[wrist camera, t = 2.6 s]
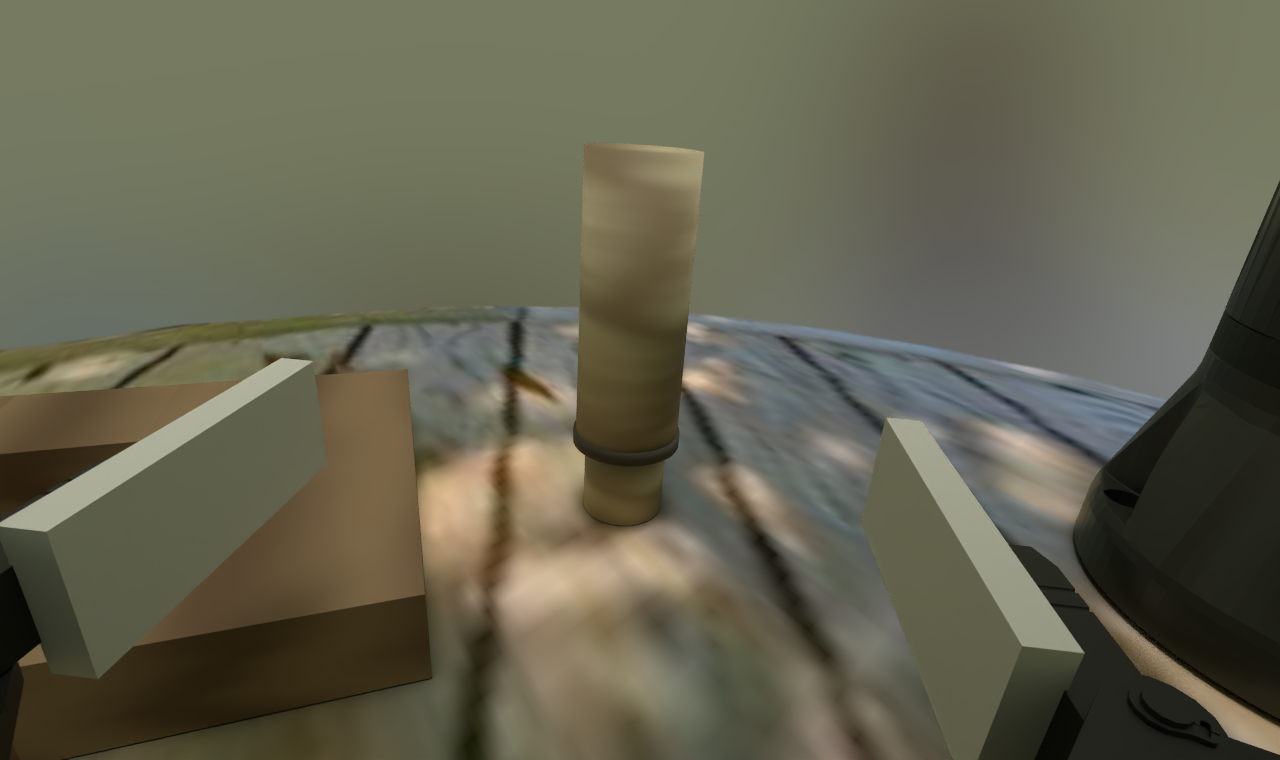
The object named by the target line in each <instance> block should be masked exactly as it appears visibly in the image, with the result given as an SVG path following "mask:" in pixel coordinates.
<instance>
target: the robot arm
mask: <svg viewBox="0 0 1280 760" xmlns="http://www.w3.org/2000/svg"><path fill="white" fill-rule="evenodd" d="M326 465H327V457H326V450H325V443H324V436H323V429H322V421H321V414H320V407H319V400H318V393H317V385H316V378H315V371H314V364H313V361H305V360H295V359H285V358H281V359H279V360H277V361H276V362H274V363H272V364H271V365H269V366H267V367H266V368H264V369H262V370H260V371H259V372H257V373H255V374H254V375H252V376H250V377H248V378H247V379H245V380H243V381H242V382H240V383H238V384H236V385H235V386H233V387H231V388H230V389H228V390H226V391H224V392H223V393H221V394H219V395H218V396H216V397H214V398H212V399H211V400H209V401H207V402H206V403H204V404H202V405H200V406H199V407H197V408H195V409H194V410H192V411H190V412H188V413H187V414H185V415H183V416H182V417H180V418H178V419H176V420H175V421H173V422H171V423H170V424H168V425H166V426H164V427H163V428H161V429H159V430H158V431H156V432H154V433H152V434H151V435H149V436H147V437H146V438H144V439H142V440H140V441H139V442H137V443H135V444H134V445H132V446H130V447H128V448H127V449H125V450H123V451H122V452H120V453H118V454H116V455H115V456H112V457H110V458H107V459H104V460H101V461H99V462H96V463H94V464H92V465H90V466H88V467H87V468H85V469H83V470H82V471H80V472H78V473H76V474H75V475H73V476H71V477H69V478H68V479H67V482H61V483H59V484H57V485H56V486H54V487H52V488H50V489H49V490H47V491H45V494H44V495H38V496H36V497H35V498H33V499H31V500H30V501H28V502H26V503H24V504H23V505H21V506H19V507H17V508H16V509H14V510H12V511H10V512H9V513H7V514H5V515H4V516H2V517H0V760H9V759H10V754H11V748H12V743H13V738H14V732H15V727H16V722H17V716H18V711H19V706H20V700H21V695H22V690H23V684H24V678H23V673H22V670H21V667H20V665H19V662H18V661H19V660H20V659H21V658H23V657H24V656H25V655H26V654H28V653H29V652H30V651H31V650H33V649H34V648H35V647H36V646H38V645H39V644H40V645H41V648H42V650H43V653H44V655H45V658H46V661H47V663H48V666H49V668H50V671H51V673H53V674H61V675H69V676H76V677H84V678H92V679H99V678H100V677H101V676H102V675H103V674H104V673H105V672H106V671H107V670H108V669H109V668H111V667H112V666H113V665H114V664H115V663H116V662H117V661H118V660H119V659H120V658H121V657H122V656H123V655H124V654H125V653H127V652H128V651H129V650H130V649H131V648H132V647H133V646H134V645H135V644H136V643H137V642H138V641H139V640H140V639H141V638H143V637H144V636H145V635H146V634H147V633H148V632H149V631H150V630H151V629H152V628H153V627H154V626H155V625H156V624H157V623H159V622H160V621H161V620H162V619H163V618H164V617H165V616H166V615H167V614H168V613H169V612H170V611H171V610H172V609H173V608H175V607H176V606H177V605H178V604H179V603H180V602H181V601H182V600H183V599H184V598H185V597H186V596H187V595H188V594H189V593H191V592H192V591H193V590H194V589H195V588H196V587H197V586H198V585H199V584H200V583H201V582H202V581H203V580H204V579H205V578H207V577H208V576H209V575H210V574H211V573H212V572H213V571H214V570H215V569H216V568H217V567H218V566H219V565H220V564H221V563H223V562H224V561H225V560H226V559H227V558H228V557H229V556H230V555H231V554H232V553H233V552H234V551H235V550H236V549H238V548H239V547H240V546H241V545H242V544H243V543H244V542H245V541H246V540H247V539H248V538H249V537H250V536H251V535H252V534H254V533H255V532H256V531H257V530H258V529H259V528H260V527H261V526H262V525H263V524H264V523H265V522H266V521H267V520H268V519H270V518H271V517H272V516H273V515H274V514H275V513H276V512H277V511H278V510H279V509H280V508H281V507H282V506H283V505H284V504H286V503H287V502H288V501H289V500H290V499H291V498H292V497H293V496H294V495H295V494H296V493H297V492H298V491H299V490H300V489H302V488H303V487H304V486H305V485H306V484H307V483H308V482H309V481H310V480H311V479H312V478H313V477H314V476H315V475H316V474H318V473H319V472H320V471H321V470H322V469H323V468H324V467H325V466H326ZM861 523H862V526H863V528H864V531H865V533H866V536H867V539H868V541H869V544H870V546H871V549H872V552H873V554H874V557H875V559H876V562H877V565H878V567H879V570H880V572H881V575H882V578H883V580H884V583H885V585H886V588H887V591H888V593H889V596H890V598H891V601H892V604H893V606H894V609H895V611H896V614H897V617H898V619H899V622H900V624H901V627H902V630H903V632H904V635H905V637H906V640H907V643H908V645H909V648H910V650H911V653H912V656H913V658H914V661H915V663H916V666H917V669H918V671H919V674H920V676H921V679H922V682H923V684H924V687H925V689H926V692H927V695H928V697H929V700H930V702H931V705H932V708H933V710H934V713H935V715H936V718H937V721H938V723H939V726H940V728H941V731H942V734H943V736H944V739H945V741H946V744H947V747H948V749H949V752H950V754H951V757H952V760H1280V755H1278V754H1275V753H1272V752H1269V751H1267V750H1264V749H1261V748H1258V747H1255V746H1252V745H1249V744H1246V743H1243V742H1240V741H1237V740H1235V739H1232V738H1229V737H1228V735H1227V734H1226V732H1225V731H1224V730H1223V728H1222V727H1221V725H1220V724H1219V723H1218V721H1217V720H1216V718H1215V717H1214V716H1213V715H1212V714H1210V713H1209V712H1208V711H1207V710H1206V709H1205V708H1204V707H1202V706H1201V705H1200V704H1199V703H1198V702H1197V701H1195V700H1194V699H1192V698H1191V697H1189V696H1188V695H1186V694H1184V693H1183V692H1181V691H1179V690H1178V689H1176V688H1175V687H1173V686H1171V685H1169V684H1166V683H1164V682H1161V681H1159V680H1156V679H1154V678H1151V677H1149V676H1145V675H1141V673H1140V672H1139V671H1138V670H1137V668H1136V667H1135V666H1134V664H1133V663H1132V662H1131V661H1130V659H1129V658H1128V657H1127V655H1126V654H1125V653H1124V652H1123V650H1122V649H1121V648H1120V646H1119V645H1118V644H1117V643H1116V641H1115V640H1114V639H1113V637H1112V636H1111V635H1110V634H1109V632H1108V631H1107V630H1106V628H1105V627H1104V626H1103V625H1102V623H1101V622H1100V621H1099V619H1098V618H1097V617H1096V616H1095V614H1094V613H1093V612H1089V607H1088V605H1087V604H1086V603H1085V601H1084V600H1083V599H1082V598H1081V596H1080V595H1079V594H1077V593H1075V589H1074V587H1073V586H1072V585H1071V583H1070V582H1069V581H1068V580H1067V578H1066V577H1065V576H1064V574H1063V573H1062V572H1061V571H1060V569H1059V568H1058V567H1057V566H1056V565H1054V564H1053V563H1052V562H1050V561H1049V560H1048V559H1046V558H1045V557H1044V556H1042V555H1041V554H1040V553H1038V552H1037V551H1036V550H1034V549H1033V548H1032V547H1028V546H1019V545H1010V544H1007V542H1006V541H1005V539H1004V538H1003V537H1002V535H1001V534H1000V532H999V531H998V529H997V528H996V527H995V525H994V524H993V522H992V521H991V519H990V518H989V517H988V515H987V514H986V512H985V511H984V510H983V508H982V507H981V505H980V504H979V502H978V501H977V500H976V498H975V497H974V495H973V494H972V493H971V491H970V490H969V488H968V487H967V485H966V484H965V483H964V481H963V480H962V478H961V477H960V475H959V474H958V473H957V471H956V470H955V468H954V467H953V466H952V464H951V463H950V461H949V460H948V458H947V457H946V456H945V454H944V453H943V451H942V450H941V449H940V447H939V446H938V444H937V443H936V441H935V440H934V439H933V437H932V436H931V434H930V433H929V431H928V430H927V429H926V427H925V426H924V424H923V423H922V422H921V421H915V420H904V419H894V418H886V420H885V424H884V428H883V432H882V436H881V440H880V445H879V449H878V453H877V457H876V461H875V465H874V470H873V474H872V478H871V482H870V486H869V491H868V495H867V499H866V503H865V507H864V511H863V516H862V520H861ZM1074 539H1075V544H1076V548H1077V551H1078V553H1079V556H1080V558H1081V560H1082V562H1083V564H1084V565H1085V567H1086V569H1087V570H1088V572H1089V573H1090V575H1091V576H1092V577H1093V579H1094V580H1095V581H1096V583H1097V584H1098V585H1099V587H1100V588H1101V589H1102V590H1103V591H1104V592H1105V593H1106V595H1107V596H1108V597H1109V598H1110V599H1111V600H1112V601H1113V602H1114V603H1115V604H1116V605H1117V606H1118V607H1119V608H1120V609H1121V610H1122V611H1123V612H1124V613H1125V614H1126V615H1127V616H1128V617H1129V618H1130V619H1132V620H1133V621H1134V622H1135V623H1136V624H1137V625H1138V626H1140V627H1141V628H1142V629H1143V630H1144V631H1145V632H1147V633H1148V634H1149V635H1150V636H1152V637H1153V638H1154V639H1155V640H1157V641H1158V642H1159V643H1160V644H1162V645H1163V646H1164V647H1166V648H1167V649H1168V650H1170V651H1171V652H1172V653H1174V654H1175V655H1177V656H1178V657H1179V658H1181V659H1182V660H1184V661H1185V662H1186V663H1188V664H1189V665H1191V666H1192V667H1194V668H1195V669H1196V670H1198V671H1199V672H1201V673H1202V674H1204V675H1206V676H1207V677H1209V678H1210V679H1212V680H1213V681H1215V682H1216V683H1218V684H1219V685H1221V686H1223V687H1224V688H1226V689H1228V690H1229V691H1231V692H1233V693H1234V694H1236V695H1237V696H1239V697H1241V698H1242V699H1244V700H1246V701H1248V702H1249V703H1251V704H1253V705H1255V706H1256V707H1258V708H1260V709H1262V710H1263V711H1265V712H1267V713H1269V714H1271V715H1272V716H1274V717H1276V718H1278V719H1280V181H1279V184H1278V186H1277V188H1276V191H1275V193H1274V195H1273V198H1272V200H1271V202H1270V205H1269V207H1268V209H1267V212H1266V214H1265V216H1264V219H1263V221H1262V223H1261V226H1260V228H1259V230H1258V233H1257V235H1256V237H1255V240H1254V242H1253V245H1252V247H1251V249H1250V251H1249V254H1248V256H1247V258H1246V261H1245V263H1244V266H1243V268H1242V270H1241V273H1240V275H1239V277H1238V280H1237V282H1236V284H1235V287H1234V289H1233V291H1232V294H1231V296H1230V299H1229V301H1228V303H1227V305H1226V309H1225V311H1224V313H1223V316H1222V318H1221V320H1220V323H1219V325H1218V327H1217V329H1216V332H1215V334H1214V336H1213V338H1212V341H1211V343H1210V345H1209V347H1208V350H1207V352H1206V354H1205V356H1204V358H1203V360H1202V362H1201V364H1200V365H1199V367H1198V368H1197V370H1196V371H1195V372H1194V373H1193V374H1192V376H1191V377H1190V378H1189V379H1188V380H1187V381H1186V382H1185V383H1184V384H1183V385H1182V386H1181V387H1180V388H1179V389H1178V390H1177V391H1176V392H1175V393H1174V394H1173V396H1171V398H1169V399H1168V400H1167V402H1166V403H1165V404H1164V405H1163V406H1162V407H1161V408H1160V409H1159V410H1158V411H1157V412H1156V413H1155V414H1154V415H1153V416H1152V417H1151V418H1150V419H1149V420H1148V421H1147V422H1146V423H1145V424H1144V425H1143V426H1142V427H1141V428H1140V429H1139V431H1138V432H1137V433H1136V434H1135V435H1134V436H1133V437H1132V438H1131V439H1130V440H1129V441H1128V442H1127V443H1126V444H1125V445H1124V446H1123V447H1122V448H1121V449H1120V450H1119V451H1118V452H1117V453H1116V454H1115V455H1114V456H1113V457H1112V459H1111V460H1110V461H1109V462H1108V463H1107V464H1106V465H1105V466H1104V467H1103V468H1102V469H1101V470H1100V471H1099V472H1098V474H1097V475H1096V477H1095V478H1094V480H1093V481H1092V483H1091V485H1090V488H1089V490H1088V493H1087V495H1086V498H1085V500H1084V503H1083V505H1082V508H1081V510H1080V513H1079V515H1078V518H1077V520H1076V524H1075V527H1074Z"/></svg>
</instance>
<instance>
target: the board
mask: <svg viewBox="0 0 1280 760" xmlns="http://www.w3.org/2000/svg"><path fill="white" fill-rule="evenodd" d="M315 378H316V385H317V393H318V400H319V407H320V414H321V421H322V429H323V436H324V443H325V450H326V457H327V465H326V466H325V467H324V468H323V469H322V470H321V471H320V472H319V473H318V474H316V475H315V476H314V477H313V478H312V479H311V480H310V481H309V482H308V483H307V484H306V485H305V486H304V487H303V488H302V489H300V490H299V491H298V492H297V493H296V494H295V495H294V496H293V497H292V498H291V499H290V500H289V501H288V502H287V503H286V504H284V505H283V506H282V507H281V508H280V509H279V510H278V511H277V512H276V513H275V514H274V515H273V516H272V517H271V518H270V519H268V520H267V521H266V522H265V523H264V524H263V525H262V526H261V527H260V528H259V529H258V530H257V531H256V532H255V533H254V534H252V535H251V536H250V537H249V538H248V539H247V540H246V541H245V542H244V543H243V544H242V545H241V546H240V547H239V548H238V549H236V550H235V551H234V552H233V553H232V554H231V555H230V556H229V557H228V558H227V559H226V560H225V561H224V562H223V563H221V564H220V565H219V566H218V567H217V568H216V569H215V570H214V571H213V572H212V573H211V574H210V575H209V576H208V577H207V578H205V579H204V580H203V581H202V582H201V583H200V584H199V585H198V586H197V587H196V588H195V589H194V590H193V591H192V592H191V593H189V594H188V595H187V596H186V597H185V598H184V599H183V600H182V601H181V602H180V603H179V604H178V605H177V606H176V607H175V608H173V609H172V610H171V611H170V612H169V613H168V614H167V615H166V616H165V617H164V618H163V619H162V620H161V621H160V622H159V623H157V624H156V625H155V626H154V627H153V628H152V629H151V630H150V631H149V632H148V633H147V634H146V635H145V636H144V637H143V638H141V639H140V640H139V641H138V642H137V643H136V644H135V645H134V646H133V647H132V648H131V649H130V650H129V651H128V652H127V653H125V654H124V655H123V656H122V657H121V658H120V659H119V660H118V661H117V662H116V663H115V664H114V665H113V666H112V667H111V668H109V669H108V670H107V671H106V672H105V673H104V674H103V675H102V676H101V677H100V678H99V679H92V678H84V677H76V676H69V675H61V674H53V673H51V671H50V668H49V666H48V663H47V661H46V658H45V655H44V653H43V650H42V648H41V645H40V644H39V645H38V646H36V647H35V648H34V649H33V650H31V651H30V652H29V653H28V654H26V655H25V656H24V657H23V658H21V659H20V660H19V661H18V662H19V665H20V667H21V670H22V673H23V678H24V684H23V690H22V695H21V700H20V706H19V711H18V716H17V722H16V727H15V732H14V738H13V743H12V748H11V754H10V759H9V760H62V759H66V758H71V757H75V756H80V755H84V754H89V753H93V752H98V751H103V750H107V749H112V748H116V747H121V746H125V745H130V744H134V743H139V742H143V741H148V740H152V739H157V738H161V737H166V736H170V735H175V734H179V733H184V732H189V731H193V730H198V729H202V728H207V727H211V726H216V725H220V724H225V723H229V722H234V721H238V720H243V719H247V718H252V717H256V716H261V715H266V714H270V713H275V712H279V711H284V710H288V709H293V708H297V707H302V706H306V705H311V704H315V703H320V702H324V701H329V700H333V699H338V698H342V697H347V696H352V695H356V694H361V693H365V692H370V691H374V690H379V689H383V688H388V687H392V686H397V685H401V684H406V683H410V682H415V681H419V680H424V679H429V678H432V672H431V659H430V647H429V634H428V621H427V609H426V596H425V583H424V571H423V558H422V545H421V533H420V520H419V507H418V495H417V482H416V469H415V457H414V444H413V431H412V419H411V407H410V395H409V382H408V370H407V369H404V370H389V371H374V372H359V373H345V374H330V375H315ZM242 381H243V380H240V381H226V382H211V383H196V384H181V385H166V386H151V387H136V388H121V389H107V390H92V391H77V392H62V393H47V394H32V395H17V396H2V397H0V517H2V516H4V515H5V514H7V513H9V512H10V511H12V510H14V509H16V508H17V507H19V506H21V505H23V504H24V503H26V502H28V501H30V500H31V499H33V498H35V497H36V496H38V495H44V494H45V491H47V490H49V489H50V488H52V487H54V486H56V485H57V484H59V483H61V482H67V479H68V478H69V477H71V476H73V475H75V474H76V473H78V472H80V471H82V470H83V469H85V468H87V467H88V466H90V465H92V464H94V463H96V462H99V461H101V460H104V459H107V458H110V457H112V456H115V455H116V454H118V453H120V452H122V451H123V450H125V449H127V448H128V447H130V446H132V445H134V444H135V443H137V442H139V441H140V440H142V439H144V438H146V437H147V436H149V435H151V434H152V433H154V432H156V431H158V430H159V429H161V428H163V427H164V426H166V425H168V424H170V423H171V422H173V421H175V420H176V419H178V418H180V417H182V416H183V415H185V414H187V413H188V412H190V411H192V410H194V409H195V408H197V407H199V406H200V405H202V404H204V403H206V402H207V401H209V400H211V399H212V398H214V397H216V396H218V395H219V394H221V393H223V392H224V391H226V390H228V389H230V388H231V387H233V386H235V385H236V384H238V383H240V382H242Z"/></svg>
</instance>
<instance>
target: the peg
mask: <svg viewBox="0 0 1280 760" xmlns="http://www.w3.org/2000/svg"><path fill="white" fill-rule="evenodd" d="M703 160H704V152H702V151H696V150H690V149H682V148H674V147H662V146H651V145H637V144H636V145H635V144H617V143H588V144H584V174H583V206H582V240H581V244H582V245H581V275H580V309H579V343H578V378H577V412H576V421H575V423H574V427H573V441H574V444H575V446H576V448H577V449H578V450H579V451H580V452H581V453H583V454H584V455H585V476H584V507H585V509H586V511H587V512H588V513H589V514H590V515H591V516H592V517H594V518H595V519H597V520H599V521H602V522H604V523H608V524H612V525H621V526H629V525H636V524H641V523H644V522H646V521H648V520H650V519H652V518H653V517H654V516H655V515H656V514H657V513H658V512H659V509H660V501H661V490H662V479H663V468H664V460H665V459H667V458H669V457H670V456H672V455H673V454H674V453H675V452H676V450H677V448H678V442H679V428H678V416H679V406H680V396H681V385H682V375H683V365H684V355H685V344H686V334H687V324H688V314H689V304H690V292H691V283H692V272H693V262H694V252H695V242H696V232H697V221H698V211H699V201H700V191H701V180H702V170H703Z"/></svg>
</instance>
